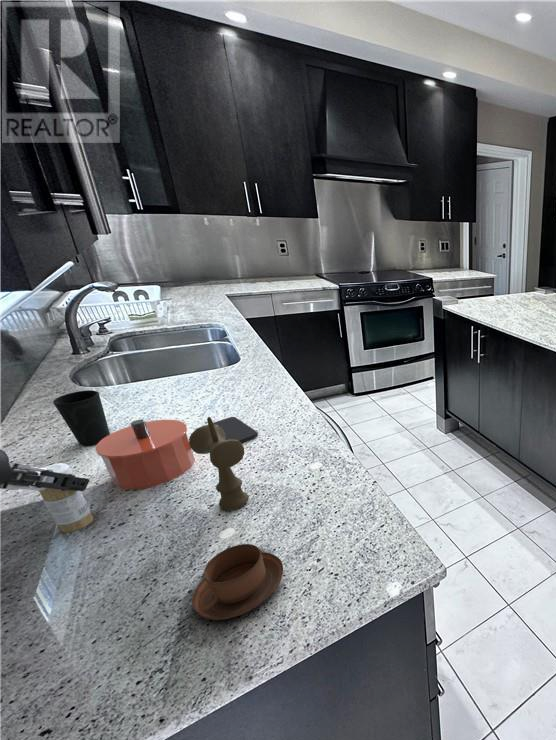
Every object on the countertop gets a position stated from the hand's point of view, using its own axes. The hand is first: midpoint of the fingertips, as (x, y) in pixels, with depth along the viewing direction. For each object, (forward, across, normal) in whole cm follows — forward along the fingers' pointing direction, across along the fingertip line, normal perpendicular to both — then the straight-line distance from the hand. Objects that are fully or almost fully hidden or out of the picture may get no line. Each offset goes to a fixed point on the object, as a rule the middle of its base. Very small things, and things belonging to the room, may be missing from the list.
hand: (71, 483), depth 72 cm
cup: (+25, +27, -12) cm, 38 cm away
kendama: (+13, -22, +1) cm, 25 cm away
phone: (+30, -2, -17) cm, 35 cm away
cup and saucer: (-1, -37, +14) cm, 40 cm away
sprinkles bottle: (+5, 0, +8) cm, 9 cm away
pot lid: (+10, 0, -11) cm, 15 cm away
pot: (+17, 0, -4) cm, 17 cm away
